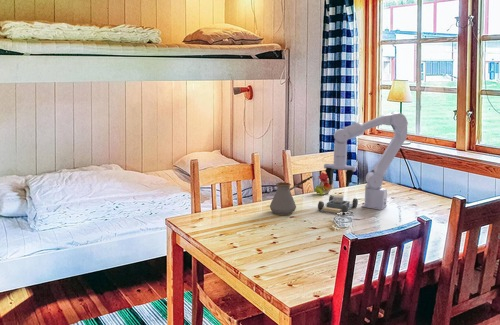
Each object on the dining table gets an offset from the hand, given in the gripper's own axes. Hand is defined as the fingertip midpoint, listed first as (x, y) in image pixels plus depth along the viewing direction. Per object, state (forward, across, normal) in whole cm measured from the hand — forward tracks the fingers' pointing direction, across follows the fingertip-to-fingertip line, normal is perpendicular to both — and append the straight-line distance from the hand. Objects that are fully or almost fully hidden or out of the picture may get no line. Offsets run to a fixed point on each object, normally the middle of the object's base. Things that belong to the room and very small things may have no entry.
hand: (339, 185), depth 230 cm
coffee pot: (+10, +14, +20) cm, 26 cm away
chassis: (+9, -2, +6) cm, 11 cm away
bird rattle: (+10, +14, -17) cm, 24 cm away
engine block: (+9, -2, +5) cm, 10 cm away
